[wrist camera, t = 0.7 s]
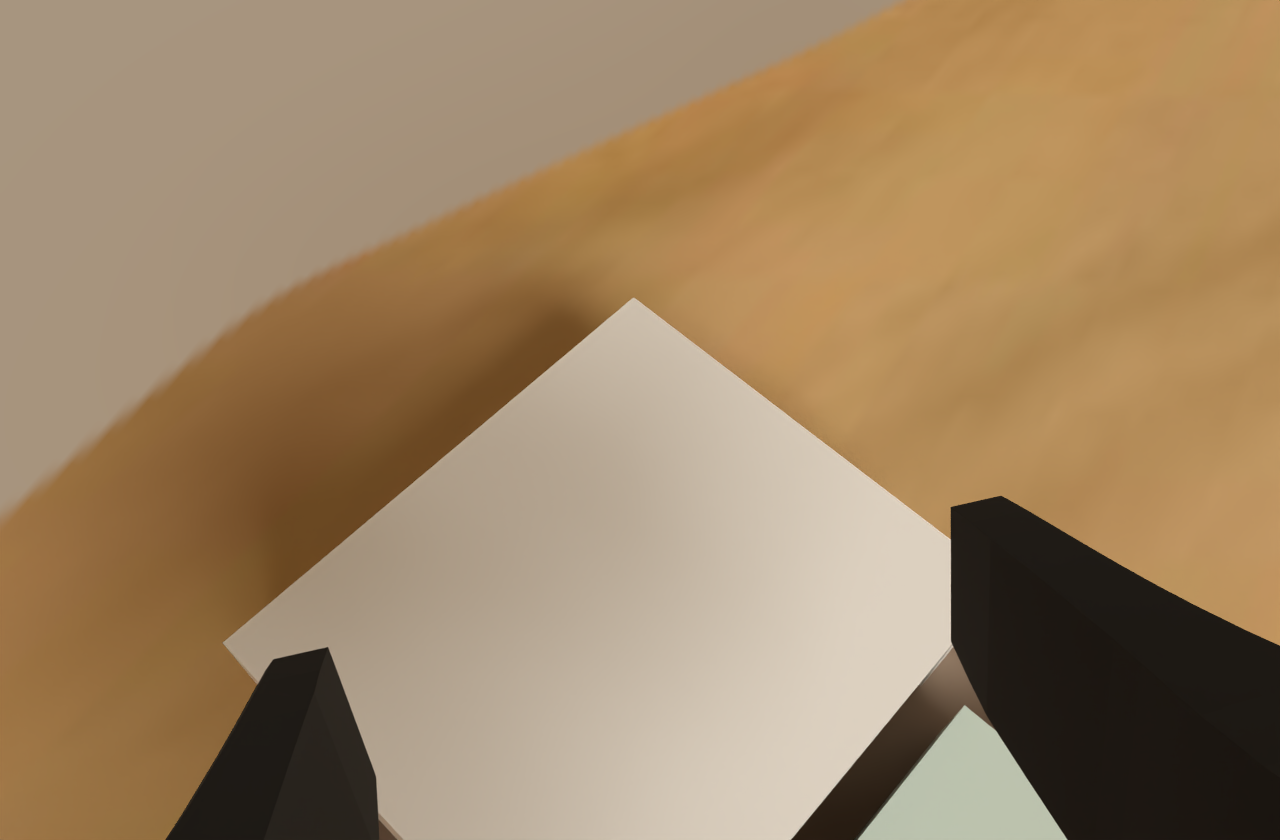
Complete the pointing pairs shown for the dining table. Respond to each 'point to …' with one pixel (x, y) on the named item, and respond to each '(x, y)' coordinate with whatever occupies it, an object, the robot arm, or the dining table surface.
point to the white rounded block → (622, 611)
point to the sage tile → (963, 792)
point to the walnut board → (884, 754)
